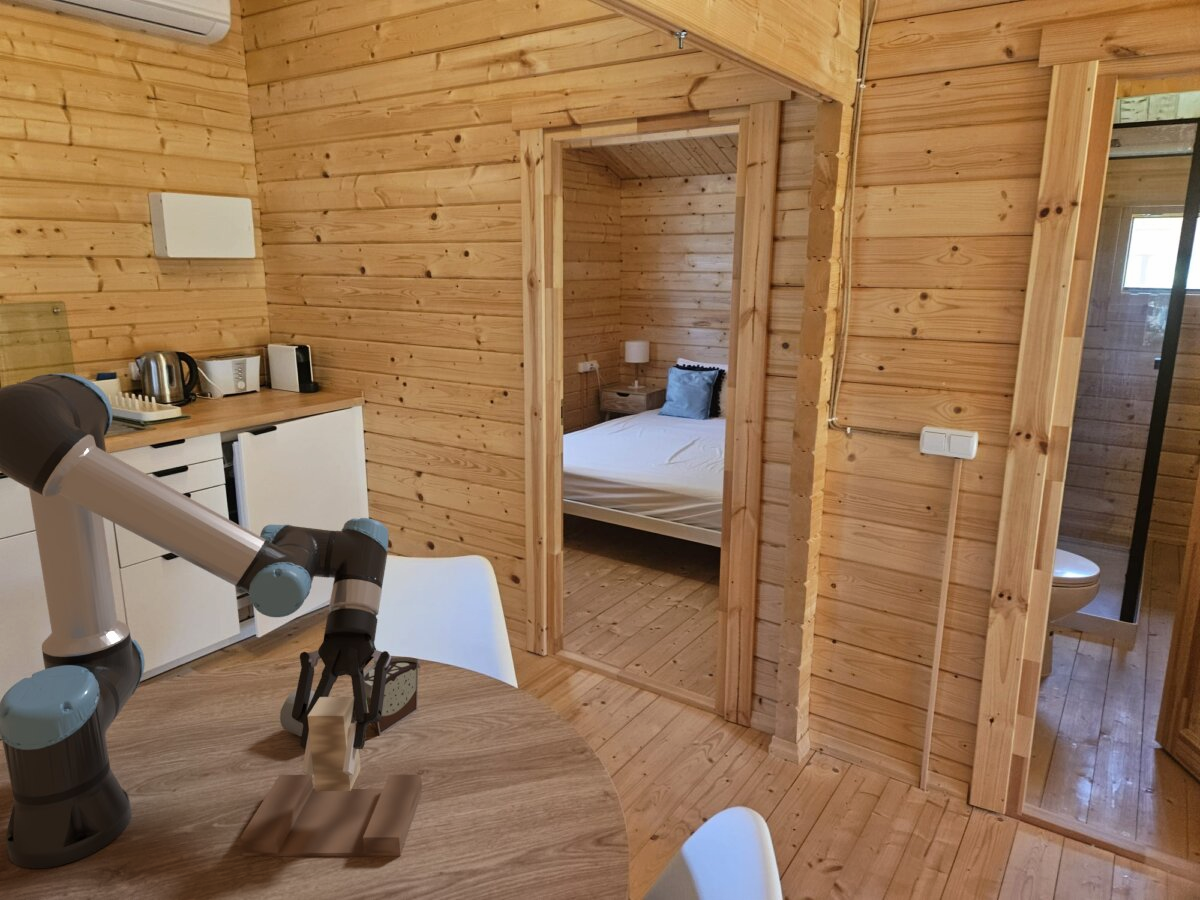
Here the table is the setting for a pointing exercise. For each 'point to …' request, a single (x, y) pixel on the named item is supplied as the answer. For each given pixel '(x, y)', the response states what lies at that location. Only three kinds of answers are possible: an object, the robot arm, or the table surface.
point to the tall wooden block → (332, 742)
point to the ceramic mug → (286, 715)
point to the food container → (395, 692)
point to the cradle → (332, 819)
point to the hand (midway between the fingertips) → (327, 773)
